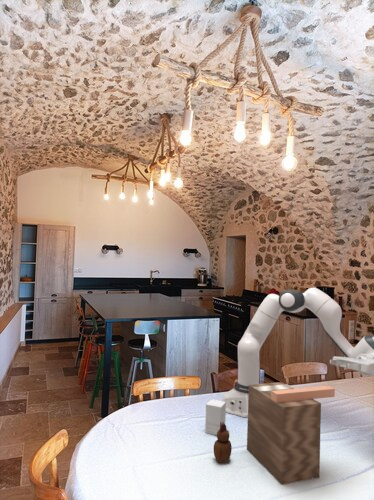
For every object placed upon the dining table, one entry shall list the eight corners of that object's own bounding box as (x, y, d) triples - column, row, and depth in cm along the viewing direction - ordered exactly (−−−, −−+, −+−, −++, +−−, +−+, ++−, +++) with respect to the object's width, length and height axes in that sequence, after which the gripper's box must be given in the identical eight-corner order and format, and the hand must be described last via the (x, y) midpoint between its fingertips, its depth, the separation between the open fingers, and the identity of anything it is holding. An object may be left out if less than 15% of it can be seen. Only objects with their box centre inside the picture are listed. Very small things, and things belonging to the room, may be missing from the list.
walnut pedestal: (280, 444, 148) (281, 381, 149) (319, 477, 125) (321, 402, 127) (246, 449, 143) (248, 384, 144) (281, 484, 120) (283, 406, 122)
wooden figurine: (218, 466, 130) (220, 424, 131) (210, 458, 135) (212, 418, 136) (233, 462, 133) (235, 421, 134) (225, 454, 138) (226, 415, 139)
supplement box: (225, 430, 160) (226, 401, 160) (220, 436, 153) (221, 407, 153) (210, 426, 163) (211, 398, 163) (204, 432, 156) (205, 403, 157)
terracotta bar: (327, 393, 137) (328, 385, 138) (334, 396, 134) (334, 388, 134) (271, 399, 129) (271, 390, 129) (276, 402, 126) (276, 394, 126)
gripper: (348, 353, 157) (322, 352, 153) (386, 360, 138) (357, 359, 134) (348, 368, 156) (322, 367, 152) (386, 377, 137) (357, 377, 133)
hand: (338, 364), depth 143 cm, fingers open, 8 cm apart
